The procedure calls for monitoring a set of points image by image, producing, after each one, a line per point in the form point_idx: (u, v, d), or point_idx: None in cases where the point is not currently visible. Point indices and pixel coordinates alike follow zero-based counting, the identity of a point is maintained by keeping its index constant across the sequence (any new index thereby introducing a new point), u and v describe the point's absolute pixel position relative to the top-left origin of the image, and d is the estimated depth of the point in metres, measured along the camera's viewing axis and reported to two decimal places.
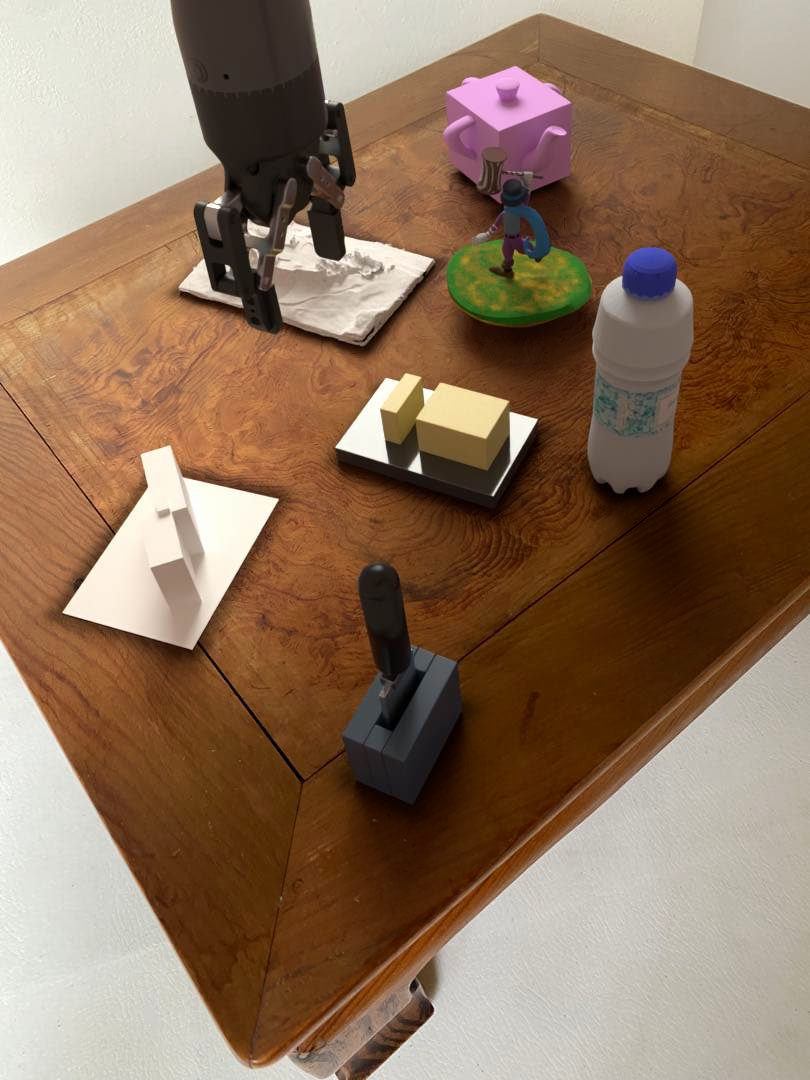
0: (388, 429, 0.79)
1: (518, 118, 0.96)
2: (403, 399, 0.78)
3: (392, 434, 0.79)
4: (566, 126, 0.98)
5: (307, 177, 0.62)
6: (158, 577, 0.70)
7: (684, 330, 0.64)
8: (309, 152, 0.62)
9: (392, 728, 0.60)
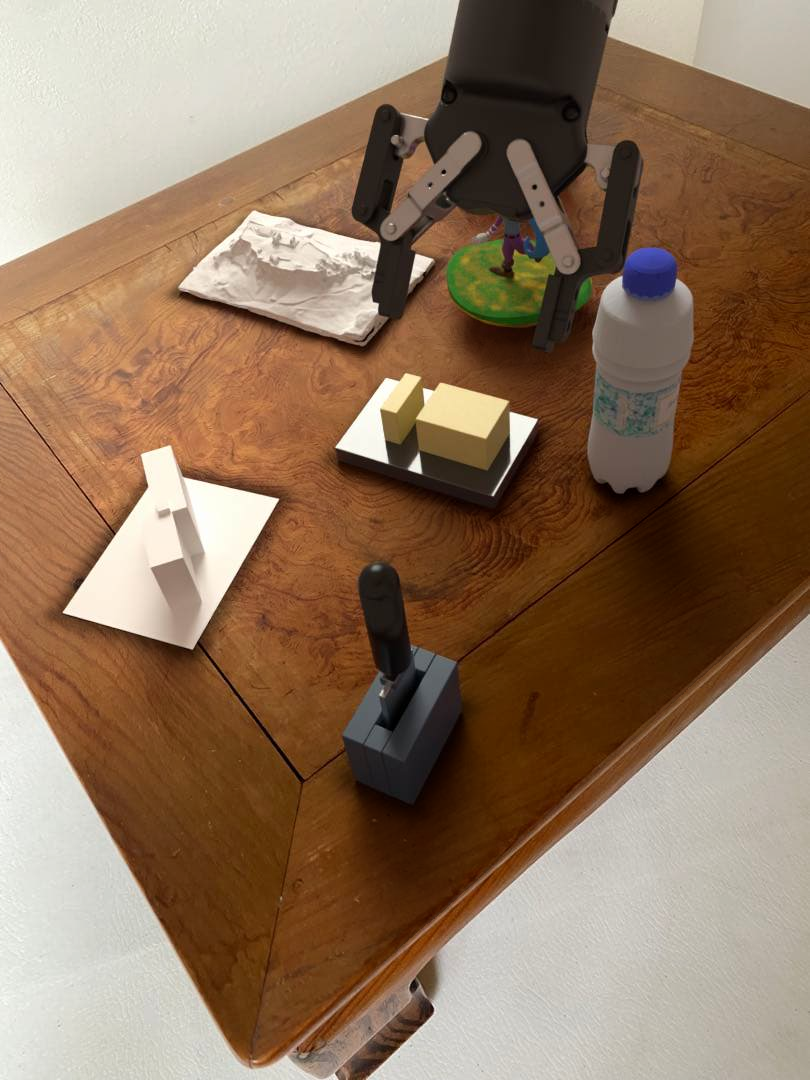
0: (388, 429, 0.79)
1: None
2: (403, 399, 0.78)
3: (392, 434, 0.79)
4: None
5: None
6: (158, 577, 0.70)
7: (684, 330, 0.64)
8: (545, 155, 0.48)
9: (392, 728, 0.60)
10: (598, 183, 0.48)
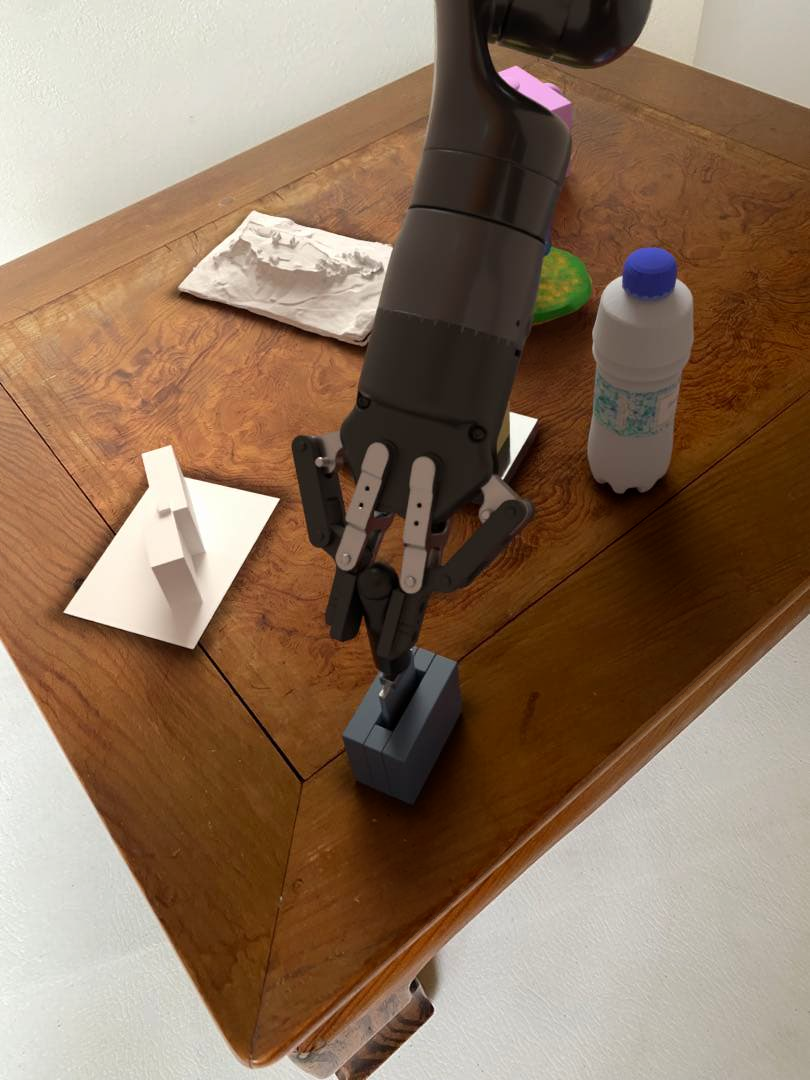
0: None
1: None
2: None
3: None
4: None
5: None
6: (159, 576, 0.70)
7: (684, 330, 0.64)
8: (451, 471, 0.48)
9: (392, 728, 0.60)
10: (480, 514, 0.49)
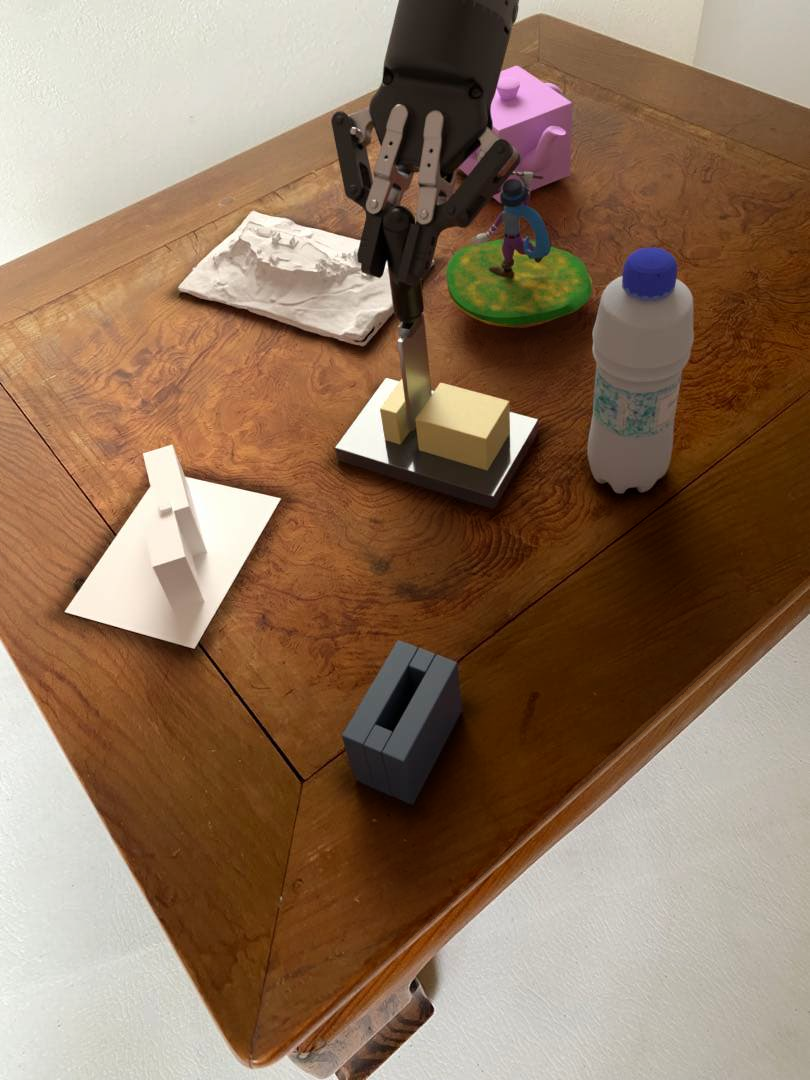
0: (388, 429, 0.79)
1: (518, 118, 0.96)
2: (403, 399, 0.78)
3: (392, 434, 0.79)
4: (566, 126, 0.98)
5: None
6: (160, 576, 0.70)
7: (684, 330, 0.64)
8: (455, 124, 0.63)
9: (407, 380, 0.74)
10: (477, 158, 0.64)
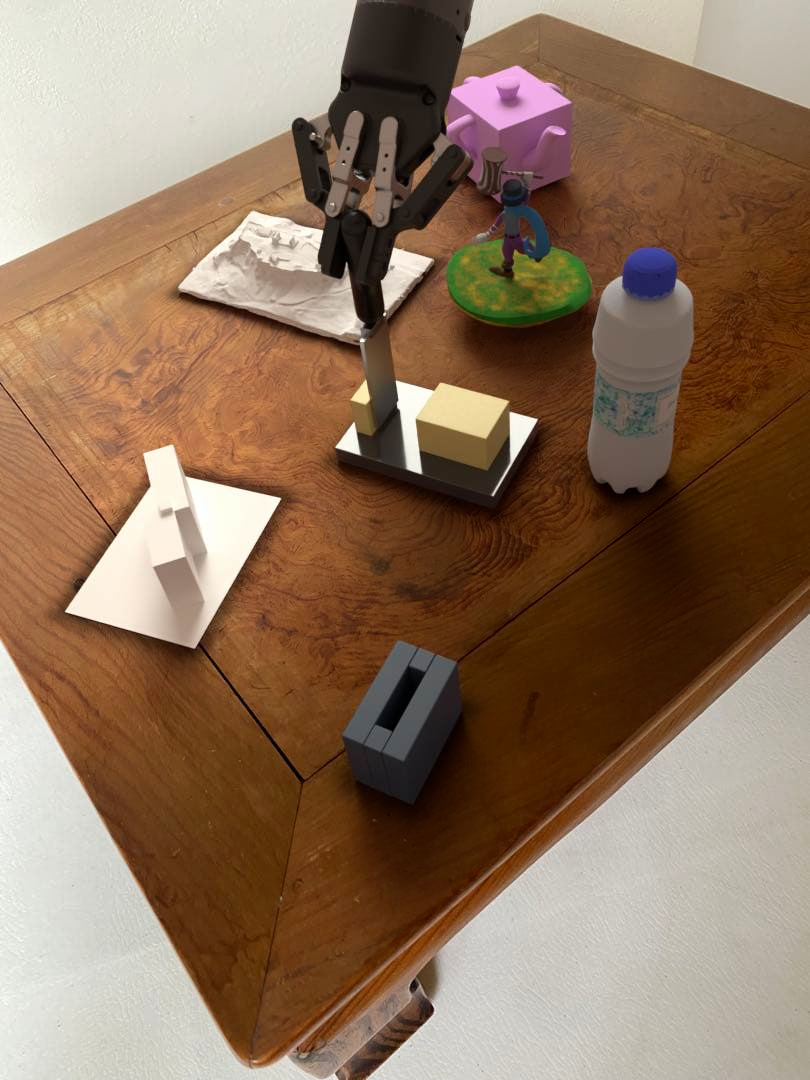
0: (358, 421, 0.80)
1: (518, 118, 0.96)
2: None
3: (363, 425, 0.80)
4: (566, 126, 0.98)
5: None
6: (161, 576, 0.70)
7: (684, 330, 0.64)
8: (410, 129, 0.65)
9: (371, 379, 0.76)
10: (431, 162, 0.65)
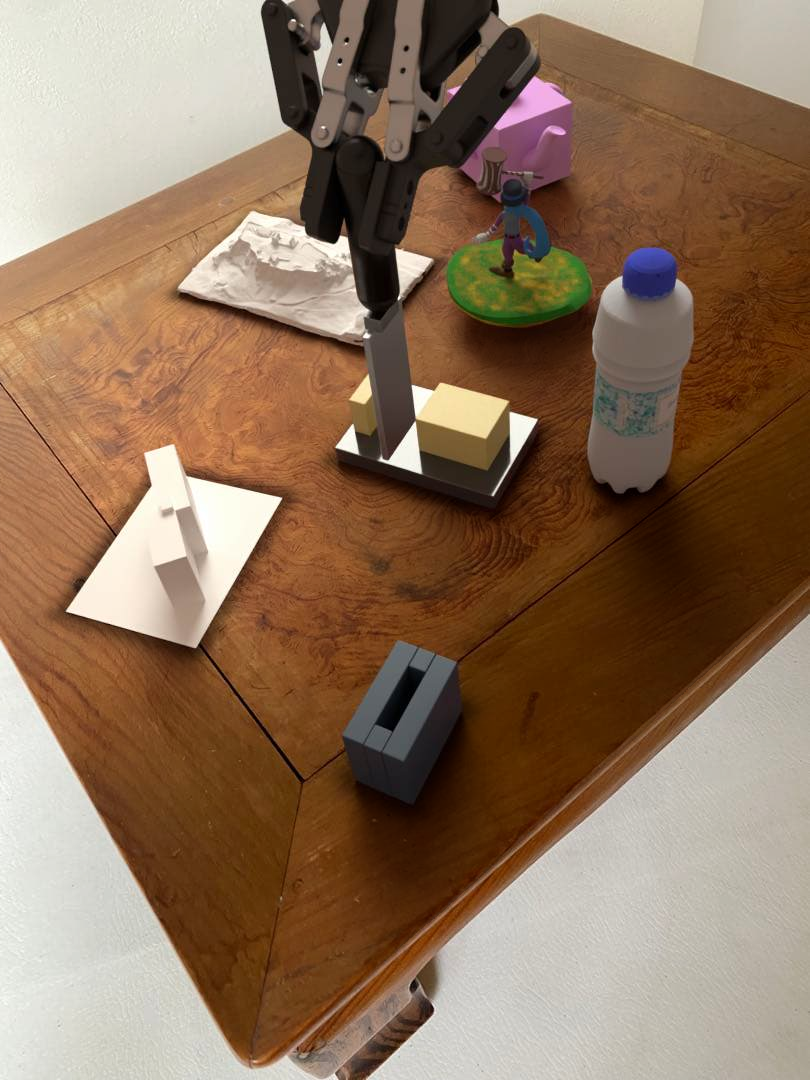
0: (357, 420, 0.80)
1: (518, 118, 0.96)
2: None
3: (361, 425, 0.80)
4: (566, 126, 0.98)
5: None
6: (162, 575, 0.70)
7: (684, 330, 0.64)
8: (443, 8, 0.42)
9: (378, 392, 0.53)
10: (476, 60, 0.42)
